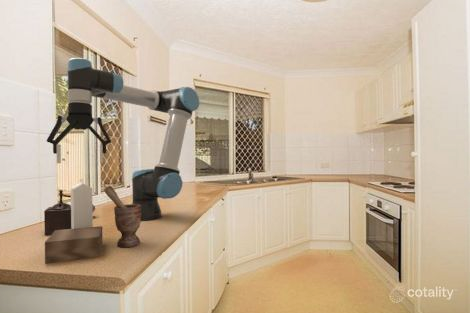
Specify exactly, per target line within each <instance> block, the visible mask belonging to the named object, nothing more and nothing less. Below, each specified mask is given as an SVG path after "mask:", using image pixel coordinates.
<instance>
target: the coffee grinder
mask: <svg viewBox="0 0 470 313" xmlns="http://www.w3.org/2000/svg"><path fill="white" fill-rule="evenodd" d="M58 192H59V194H58V195H59V202H58V203H56V204H54V205H52V206H49V207H47V208H46V209H45V210H44V212H43V213H44V219H43V220H44V222H43V223H44V236H51V235H52V233H53V232H54V231H55V230H64V229H71V204H69V203H66V202H63V197H64V198H71V194H64V193H63V190H62V189H59V191H58Z"/></svg>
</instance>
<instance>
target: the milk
mask: <svg viewBox="0 0 470 313" xmlns="http://www.w3.org/2000/svg"><path fill="white" fill-rule="evenodd" d="M70 195H71V197H70V205H71V229H76V228H87V227H94V224H93V222H94V221H93V215H94V212H93V208H92V204H93V187H91V186H89V185H87V184H85V183H84V178H83V179H82V178H79V182H78V183H77V184H75V185H73V186H71V187H70Z"/></svg>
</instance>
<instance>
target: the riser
mask: <svg viewBox="0 0 470 313" xmlns="http://www.w3.org/2000/svg"><path fill="white" fill-rule="evenodd" d="M102 247H103V225H102V226H101V225H99V226H93V227H87V228H76V229H64V230H55V231H54V232H53V233H52V235H49V237H48V238H47V239H46V240H45V241H44V264H51V263H59V262H67V261H76V260H84V259H93V258H100V256H101V252H102Z"/></svg>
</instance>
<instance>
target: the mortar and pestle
mask: <svg viewBox="0 0 470 313" xmlns="http://www.w3.org/2000/svg"><path fill="white" fill-rule="evenodd" d="M104 192H105V194H106V196H107V197H108V198H109V199H110V200H111V201H112V202H113V203H114V205H115V206H114V209H113V210H114V213H113V214H114V223H115V226H116V228H117V229H116V230H117V231H118V232H120V233H121V236H120V238H119V239H118V240H117V244H116V246H117V247H120V248H129V247H130V248H131V247H135V246H139V245H140V244H141V240H140V237H139V236H137V234H136V233H137V231H138V230H139V228H140V226H141V221H142V220H141V205H139V204H132V203H131V204H130V203H129V204H124V203H123V202H122V200H121V199H120V197H119V195H118V194H117V192H116V189H114V188H113V186H111V185H109V186H107V187H105V188H104Z"/></svg>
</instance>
